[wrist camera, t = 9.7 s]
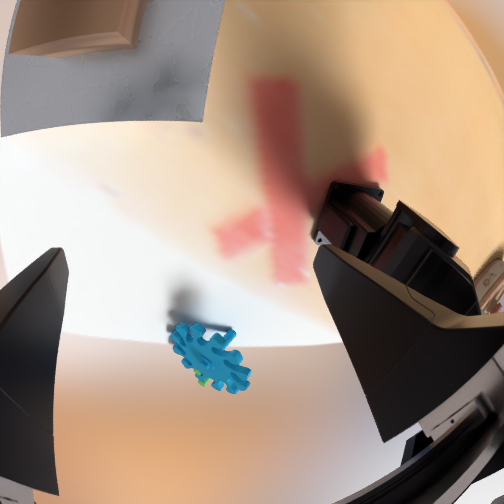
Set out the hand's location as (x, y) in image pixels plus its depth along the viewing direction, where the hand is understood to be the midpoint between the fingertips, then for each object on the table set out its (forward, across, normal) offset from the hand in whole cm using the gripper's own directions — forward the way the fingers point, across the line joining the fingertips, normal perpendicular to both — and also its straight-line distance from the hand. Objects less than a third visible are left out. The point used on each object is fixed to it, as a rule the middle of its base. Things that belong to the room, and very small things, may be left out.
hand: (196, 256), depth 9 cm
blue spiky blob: (+12, -3, +20) cm, 24 cm away
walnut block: (+9, +6, -10) cm, 15 cm away
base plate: (+12, +6, -10) cm, 17 cm away
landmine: (+13, -79, +24) cm, 84 cm away
